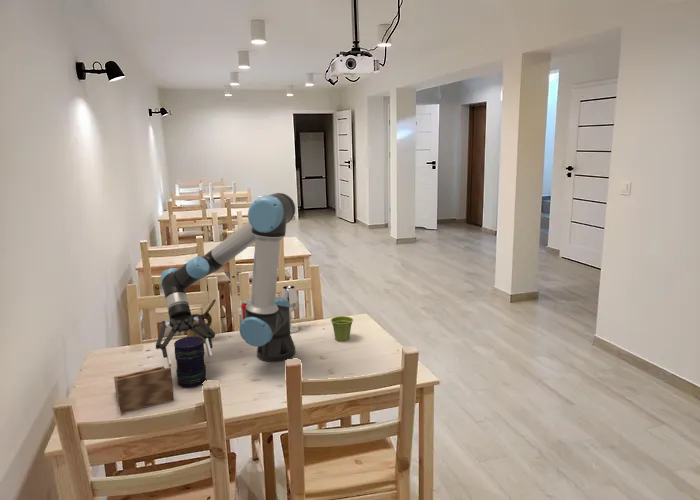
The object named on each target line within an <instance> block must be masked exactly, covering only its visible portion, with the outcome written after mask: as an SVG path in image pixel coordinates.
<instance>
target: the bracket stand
mask: <svg viewBox="0 0 700 500" xmlns="http://www.w3.org/2000/svg"><path fill="white" fill-rule="evenodd" d="M172 375H173V374H172V367H166V368H165V367H164V366H159V367H153V368H150V369H144V370H140V371H136V372H130V373H126V374H122V375H116V376H114V377H113V382H114V389H115V395H116V401H117V403H118V408H119V411H120V414H123V413H126V412H131V411H135V410H138V409H143V408H146V407H151V406H154V405H159V404H162V403H163V404H164V403H166V402H170V401H174V400H175V396H174V386H173V376H172Z"/></svg>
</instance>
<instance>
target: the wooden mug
mask: <svg viewBox="0 0 700 500" xmlns="http://www.w3.org/2000/svg"><path fill="white" fill-rule="evenodd" d="M215 303H216V299H213V300H212V301H211V302H210V304H209V305H208V307H207V308H206V310H205V312H203V313H201V314H200V313H194V314H191V315H192V317H193V318H194V317H197V316H198V315H201V317H202V319H203V321H204V322H205V323H206V321H207V323H206V324H207V325H208V326H209V327H210V328H211V325H212V321H213V319H212V318H213V317H212V315H211V314H210V313H209V312H210V311H211V309H212V308H213V306H214V305H215ZM193 323H194V324H195V325H196V326H197V327H199V328H200V329H202V330H203V331H204V332H206V331H205V330H204V329H203V328H202V327H201V326H200V325H199V323H197V322H196V321H194V322H193ZM206 333H207V332H206ZM186 337H201V336H200V335H198V334H197V333H195V332H194V331H191V330H190V329H189V330H188V331H186ZM201 338H202V339H203V343H204V344H205V340H206V339H204V338H203V337H201Z"/></svg>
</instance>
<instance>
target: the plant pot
mask: <svg viewBox="0 0 700 500" xmlns="http://www.w3.org/2000/svg"><path fill="white" fill-rule="evenodd" d="M330 322H331V324H332V328H333V333H334V339H335V340H336V341H338V342H346V341H349V340H350V338H351V337H350V336H351V330H352V324H353V322H354V318H352V317H350V316H345V315H341V316H334V317H332V318H331V319H330Z"/></svg>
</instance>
